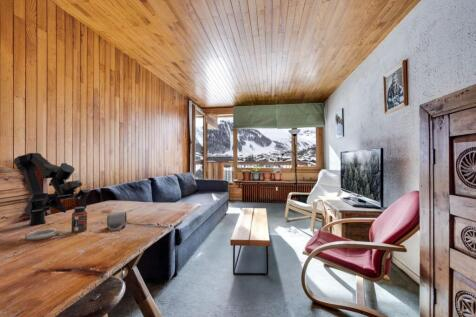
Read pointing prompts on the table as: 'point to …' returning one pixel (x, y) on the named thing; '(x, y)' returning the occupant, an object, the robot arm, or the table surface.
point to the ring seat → (41, 234)
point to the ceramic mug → (116, 220)
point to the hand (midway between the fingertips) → (75, 209)
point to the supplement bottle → (79, 220)
